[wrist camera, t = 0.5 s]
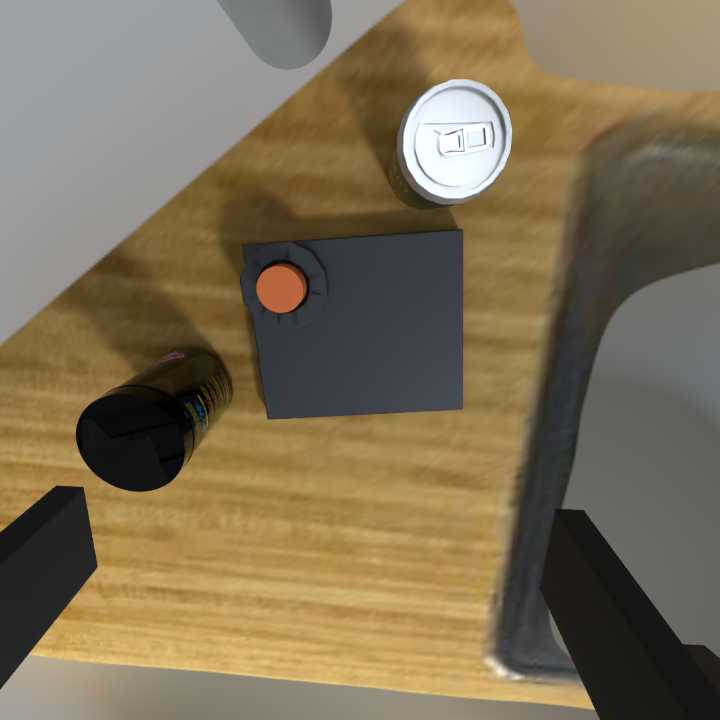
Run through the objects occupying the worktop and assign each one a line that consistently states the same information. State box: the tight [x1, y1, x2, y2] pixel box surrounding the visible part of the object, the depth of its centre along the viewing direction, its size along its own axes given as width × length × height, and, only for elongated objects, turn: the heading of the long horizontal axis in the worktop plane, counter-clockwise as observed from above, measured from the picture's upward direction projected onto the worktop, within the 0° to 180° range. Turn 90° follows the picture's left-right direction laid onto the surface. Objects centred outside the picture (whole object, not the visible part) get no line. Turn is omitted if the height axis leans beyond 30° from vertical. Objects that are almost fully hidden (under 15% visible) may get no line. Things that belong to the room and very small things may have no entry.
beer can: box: [389, 80, 512, 210], centre depth 25 cm, size 5×5×12 cm
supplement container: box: [76, 349, 233, 492], centre depth 32 cm, size 7×7×10 cm
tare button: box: [256, 264, 306, 313], centre depth 30 cm, size 3×3×2 cm
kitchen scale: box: [240, 229, 463, 420], centre depth 33 cm, size 14×16×3 cm
